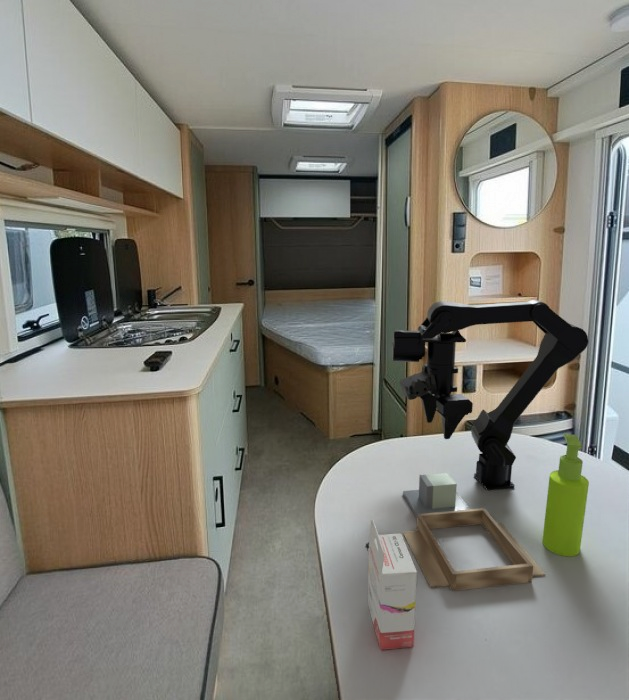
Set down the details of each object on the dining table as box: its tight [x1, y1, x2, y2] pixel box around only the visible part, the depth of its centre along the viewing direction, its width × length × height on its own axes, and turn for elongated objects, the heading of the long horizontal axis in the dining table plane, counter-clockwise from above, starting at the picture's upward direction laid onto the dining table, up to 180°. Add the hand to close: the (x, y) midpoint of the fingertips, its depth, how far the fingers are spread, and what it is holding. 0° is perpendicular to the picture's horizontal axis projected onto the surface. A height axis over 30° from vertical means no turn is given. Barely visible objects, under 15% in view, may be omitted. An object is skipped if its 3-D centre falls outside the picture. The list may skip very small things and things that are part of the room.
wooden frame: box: [402, 507, 546, 592], centre depth 80 cm, size 19×16×3 cm
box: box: [418, 472, 457, 509], centre depth 94 cm, size 6×4×5 cm
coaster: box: [402, 489, 471, 519], centre depth 95 cm, size 11×10×1 cm
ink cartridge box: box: [367, 518, 418, 651], centre depth 64 cm, size 9×5×15 cm, turn 5°
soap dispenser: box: [542, 433, 590, 557], centre depth 80 cm, size 6×7×20 cm
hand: (437, 430), depth 102 cm, fingers open, 9 cm apart
